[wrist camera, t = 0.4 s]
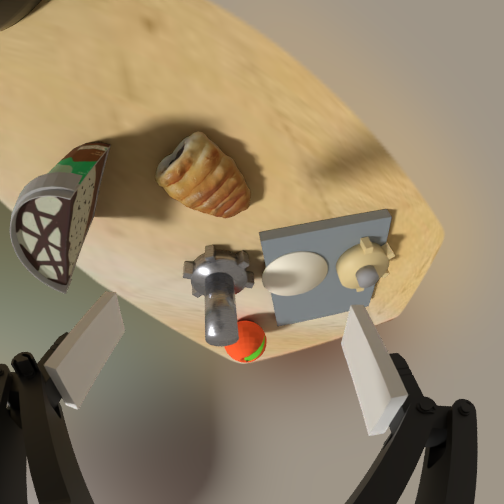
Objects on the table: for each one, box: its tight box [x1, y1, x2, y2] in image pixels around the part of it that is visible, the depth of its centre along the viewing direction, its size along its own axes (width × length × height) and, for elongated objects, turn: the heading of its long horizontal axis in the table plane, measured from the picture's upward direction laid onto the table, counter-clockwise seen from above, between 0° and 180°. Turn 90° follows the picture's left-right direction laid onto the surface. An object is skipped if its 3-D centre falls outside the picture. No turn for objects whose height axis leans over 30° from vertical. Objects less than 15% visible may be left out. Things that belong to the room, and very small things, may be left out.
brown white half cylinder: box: [10, 142, 111, 294], centre depth 20 cm, size 12×6×10 cm, turn 150°
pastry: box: [155, 132, 251, 218], centre depth 26 cm, size 9×7×4 cm
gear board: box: [259, 209, 395, 326], centre depth 38 cm, size 20×18×5 cm
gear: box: [183, 245, 254, 346], centre depth 33 cm, size 9×8×10 cm
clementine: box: [225, 321, 266, 362], centre depth 44 cm, size 8×7×7 cm
